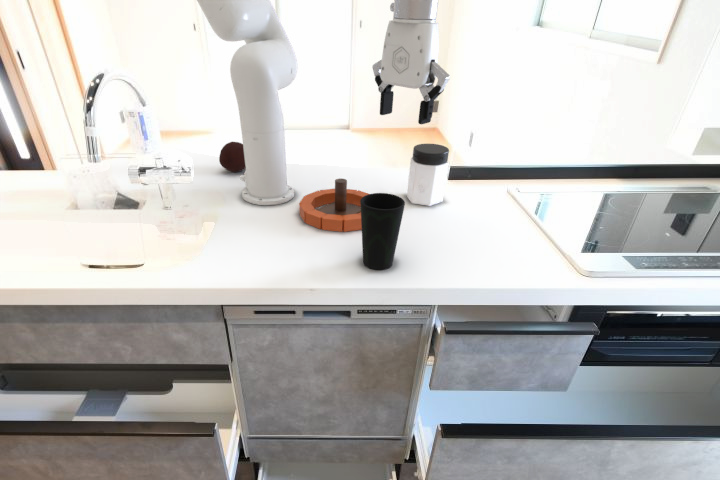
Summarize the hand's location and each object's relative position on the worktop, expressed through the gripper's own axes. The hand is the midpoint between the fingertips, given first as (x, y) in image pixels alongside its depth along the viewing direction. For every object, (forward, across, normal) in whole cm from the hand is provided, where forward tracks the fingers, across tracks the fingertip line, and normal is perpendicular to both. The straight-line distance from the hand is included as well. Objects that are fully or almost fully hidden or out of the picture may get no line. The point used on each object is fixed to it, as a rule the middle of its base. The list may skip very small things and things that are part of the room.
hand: (404, 118), depth 88 cm
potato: (+21, -49, -9) cm, 54 cm away
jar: (+21, -2, +13) cm, 25 cm away
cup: (+21, +11, -19) cm, 30 cm away
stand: (+20, -9, -8) cm, 24 cm away
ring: (+20, -9, -8) cm, 24 cm away
